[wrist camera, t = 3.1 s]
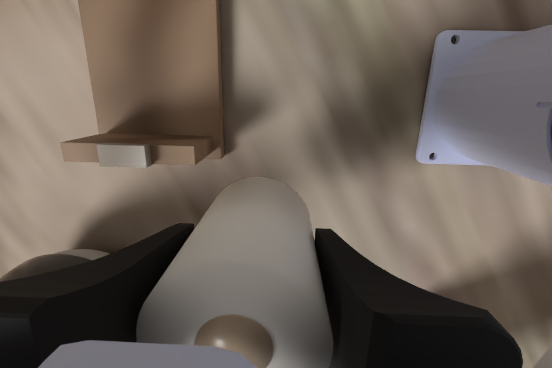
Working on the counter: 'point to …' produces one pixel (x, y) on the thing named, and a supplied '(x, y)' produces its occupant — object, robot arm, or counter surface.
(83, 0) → the holder
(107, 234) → the counter surface
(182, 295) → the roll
